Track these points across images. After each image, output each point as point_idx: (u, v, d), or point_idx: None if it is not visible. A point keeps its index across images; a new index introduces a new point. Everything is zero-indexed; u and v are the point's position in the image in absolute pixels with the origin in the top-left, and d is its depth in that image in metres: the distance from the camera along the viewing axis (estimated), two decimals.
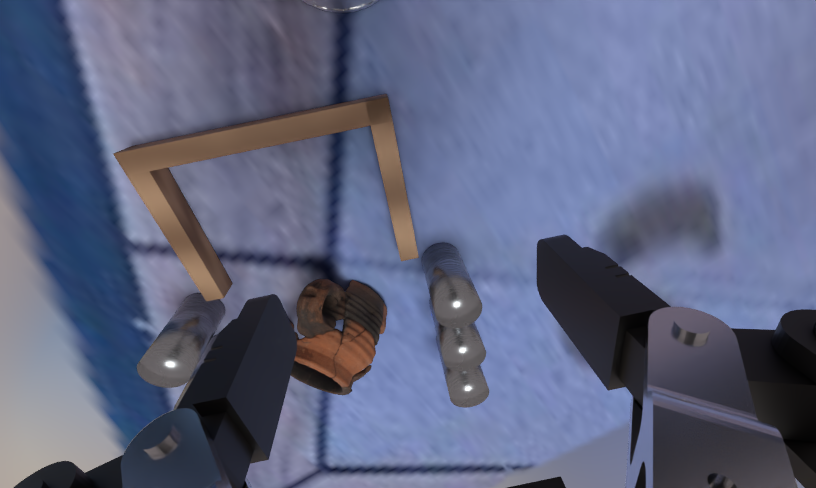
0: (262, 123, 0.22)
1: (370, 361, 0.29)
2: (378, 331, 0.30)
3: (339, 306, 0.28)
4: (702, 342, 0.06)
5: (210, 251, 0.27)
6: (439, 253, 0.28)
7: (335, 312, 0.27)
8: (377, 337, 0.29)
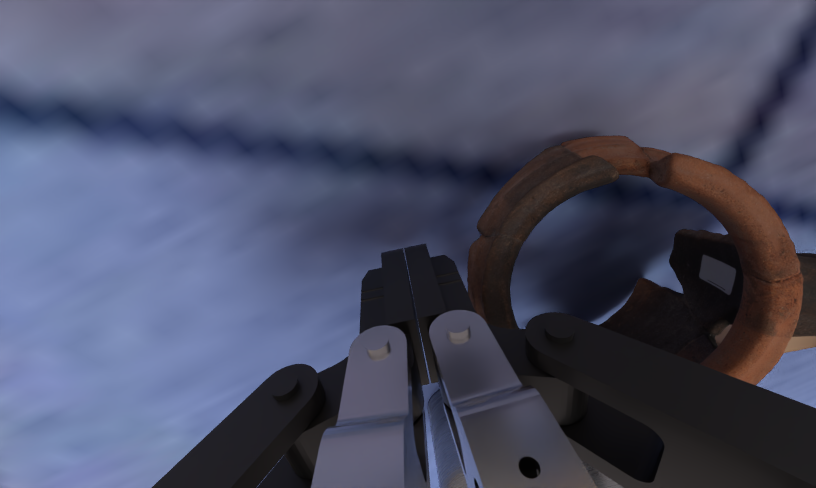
0: None
1: None
2: None
3: None
4: (457, 340, 0.07)
5: None
6: None
7: None
8: None
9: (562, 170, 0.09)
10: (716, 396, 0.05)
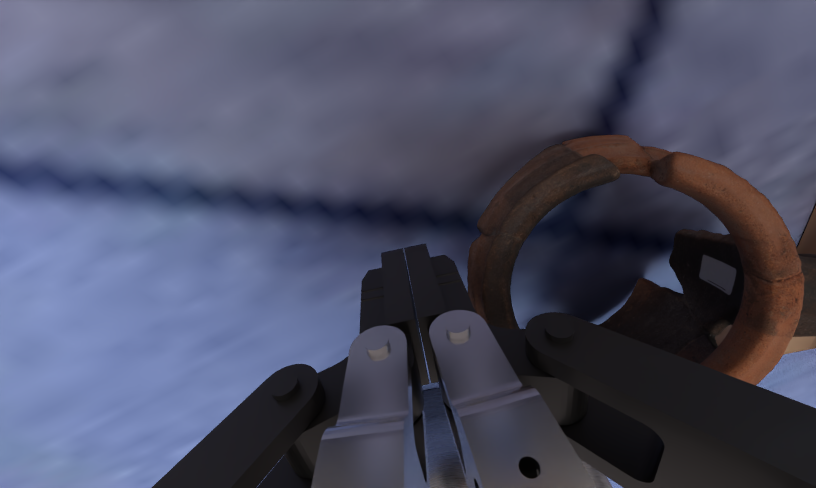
0: None
1: None
2: None
3: None
4: (457, 340, 0.07)
5: None
6: None
7: None
8: None
9: (563, 169, 0.09)
10: (715, 395, 0.05)
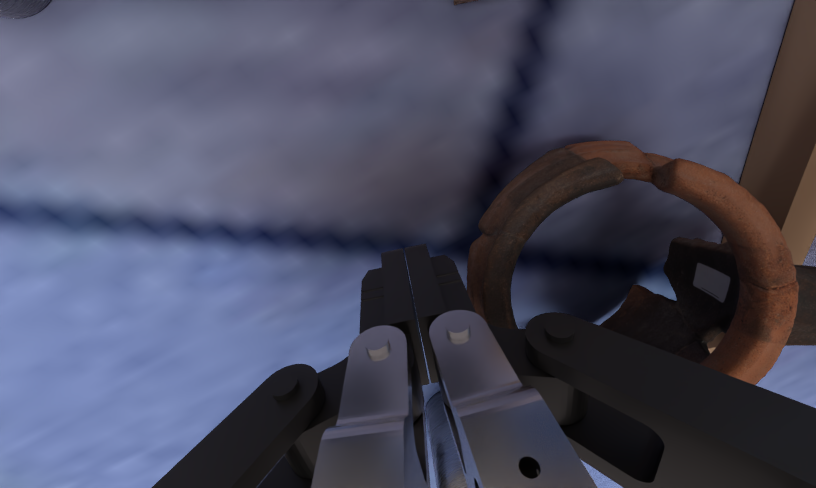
0: None
1: None
2: None
3: None
4: (457, 340, 0.07)
5: None
6: None
7: None
8: None
9: (567, 171, 0.09)
10: (716, 395, 0.05)
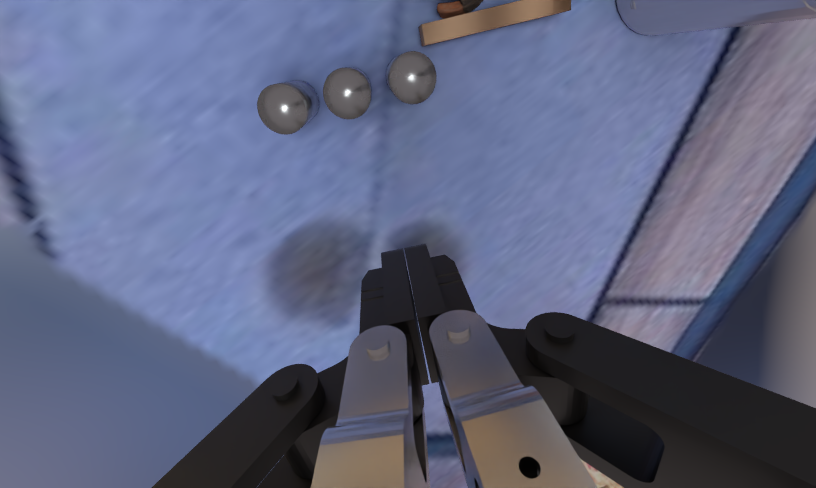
0: None
1: None
2: None
3: None
4: (457, 340, 0.07)
5: None
6: None
7: None
8: None
9: None
10: (716, 396, 0.05)
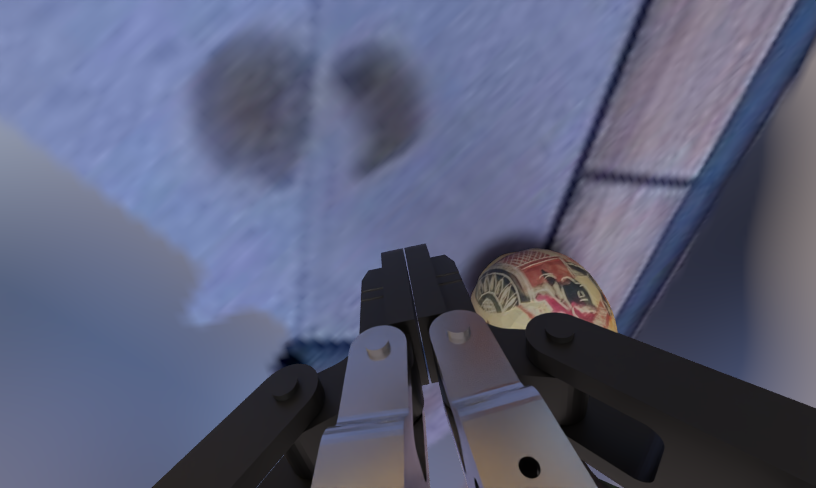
0: None
1: None
2: None
3: None
4: (457, 340, 0.07)
5: None
6: None
7: None
8: None
9: None
10: (717, 396, 0.05)
